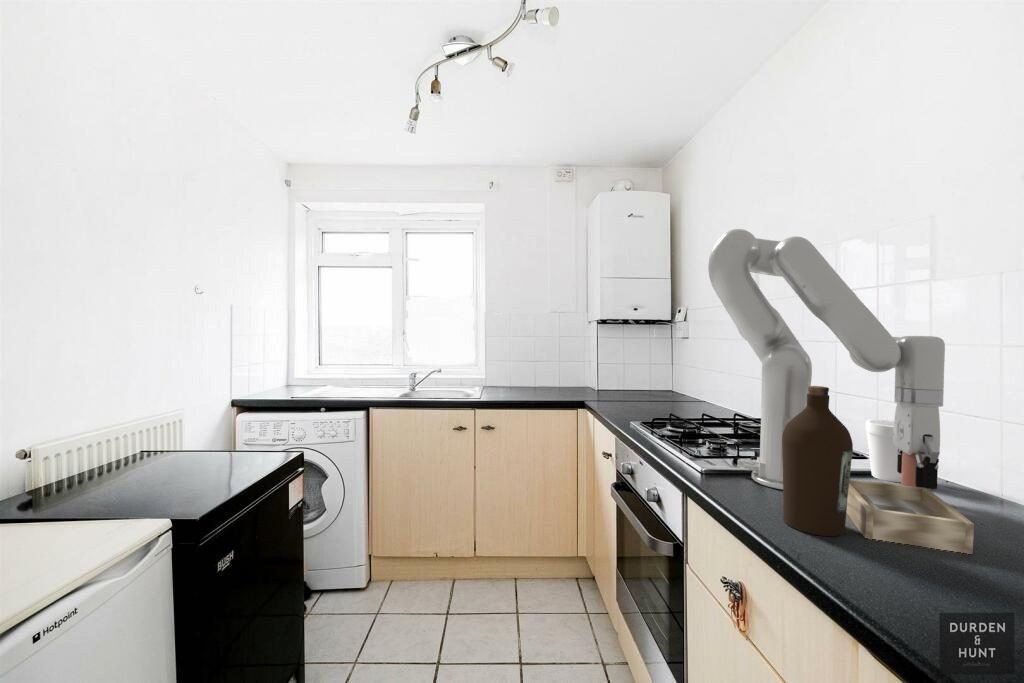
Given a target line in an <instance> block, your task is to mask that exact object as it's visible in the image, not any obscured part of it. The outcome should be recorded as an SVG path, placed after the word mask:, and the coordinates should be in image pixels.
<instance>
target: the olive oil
mask: <svg viewBox="0 0 1024 683" xmlns="http://www.w3.org/2000/svg"><path fill="white" fill-rule="evenodd" d="M829 391H830V388H829V387H827V386H822V385H821V386H820V385H811V386H808V394H807V406H806V408H805V409H804V410H803V411H801V412H800V413H799V414H798V415H797V416H795V417H794V418H793V419H792V420H790V421H789V422H788V423H787V425H786V427H785V429H784V432H783V435H782V457H783V490H782V519H783V522H784V523H785V524H786V525H788V526H789V527H791V528H793V529H795V530H798V531H800V532H804V533H807V534H810V535H815V536H820V537H838V536H842V535H843V534H844V533H845V532H846V521H847V520H846V519H847V513H846V511H847V499H848V489H849V479H851V478H850V477H851V470H852V460H853V450H854V448H853V447H854V445H853V439H852V437H851V433H850V431H849V430H848V428H847V427H846V425H845V424H844V423H843V422H841V421H840V419H838V418H837V416H835V414H834V413H833V412H832V411H831V409H830V408H829V407H830V395H829Z"/></svg>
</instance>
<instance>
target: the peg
mask: <svg viewBox="0 0 1024 683" xmlns="http://www.w3.org/2000/svg"><path fill="white" fill-rule="evenodd" d="M924 458H925V457H922V459H923V460H924ZM916 467H918V463H917V459H916V455H915V453H913V454H912V455H908V454H907V453H905V452H903V451H902V472H901V482H900V485H906V486H914V487H916V485H915V477H916Z"/></svg>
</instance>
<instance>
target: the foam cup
mask: <svg viewBox="0 0 1024 683" xmlns="http://www.w3.org/2000/svg"><path fill="white" fill-rule="evenodd" d="M893 431H894V420H889V419H867V420H865V432H866V437H867V447H868V454H869V462H870V471H871V476H873V478H876V479H878V480H881V481H886V482H894V483H901V473H898V472H897V459H898V451H897V450H898V448H897V447H896V446H895V445H894V444H893Z"/></svg>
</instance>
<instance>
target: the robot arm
mask: <svg viewBox="0 0 1024 683" xmlns="http://www.w3.org/2000/svg"><path fill="white" fill-rule="evenodd" d="M707 264H708V265H707V266H708V276H709V281H710V284H711V286H712V289H713V290H714V291H715V293H716V295H717V298H719V300H720V302H721V303H722V306H723V307H724V309H725V311H726V312H727V313H728V315H729V317H730V318H731V320H732V321H733V323H734V325H735V326H736V328H737V330H738V333H739V335H740V336H741V338H743V339H744V340H745V341H747V343H748V344H749V346H750V347H751V349H752V350H753V353H754V354H755V355H756V356H757V358H758V359H759V361H760V363H761V404H760V405H761V406H760V407H761V408H760V414H761V415H760V416H761V417H760V440H759V443H760V444H759V456H757V457H756V459H752V460H746V459H737V468H740V469H743V470H745V471H752V472H751V480H753V481H755V482H756V483H758V484H759V485H763V486H764V487H769V488H773V489H776V490H777V489H778V490H782V491H783V457H782V435H783V432H784V429H785V427H786V425H787V423H788V422H789V421H790V420H792V419H793V418H794V417H795V416H797V415H798V414H799V413H800V412H801V411H803V410H804V409H805V408H806V406H807V394H808V386H812V376H813V364H812V360H811V358H810V356H809V354H808V352H807V351H806V350H805V349H804V347H803V346H802V344H801V342H799V341H798V339H797V337H796V335H795V334H794V333H793V332H792V330H791V329H790V327H789V325H788V324H787V323H786V321H785V319H784V318H783V317H782V315H781V314H780V312H779V311H778V310H777V309H776V308H775V307H773V306H772V304H771V303H770V302H769V300H768V299H767V298H766V296H765V295H764V294H763V292H762V291H761V289H760V287H759V285H758V283H757V282H756V281H755V279H754V278H753V276H752V275H751V273H754V274H760V275H764V276H765V275H766V276H772V277H780V278H781V277H782V278H783V279H784V281H785V282H786V283H787V284H788V285H789V286H790V287H791V289H792V290H793V291H794V293H795V294H796V295H797V296H798V297H799V299H800V300H801V301H802V302H803V304H804V306H806V308H807V309H808V310H809V311H810V312H811V313H812V315H814V317H816V318H818V319H819V320H820V321H821V322H822V323H823V324H825V325H826V327H828V329H830V331H831V332H832V333H833V334H834V335H835V337H836V338H837V339H838V340H839V341H840V342H841V343H842V345H843V346H844V348H845V349H846V350H847V351H848V353H849V358H850V360H851V361H852V362H853V363H854V364H855V365H856V366H858V367H859V368H862V369H863V370H866V371H869V372H871V373H884V372H887V371H890V370H892V369H894V370H895V371H894V372H895V373H894V403H895V404H896V407H895V412H894V420H893V421H894V431H893V444H894V445H895V446H896V447H897V448H898V450H897V451H898V459H897V472H898V473H901V472H902V451H903V452H905V453H907V454H908V455H912V454H913V453H915V455H916V459H917V463H918V467H916V477H915V485H916V487H923V488H927V489H928V490H937V489H938V473H939V472H938V471H939V462H940V459H939V456H940V453H941V451H940V450H941V421H940V409H939V408H940V407H941V408H942V407H944V394H945V392H944V389H945V388H944V386H945V385H944V384H945V360H946V358H945V357H946V354H945V352H946V345H945V344H946V343H945V341H944V340H943V338H941V337H939V336H935V335H933V336H931V335H906V336H905V335H904V336H901V337H900V336H893V335H892V334H891V333H890V332H889V331H888V330H887V329H886V328H885V326H884V325H883V324H882V323H881V321H880V320H879V319H878V318H877V317H876V315H874V313H873V312H872V311H871V310H870V309H869V308H868V307H867V306H866V305H865V304H864V303H863V302H862V300H861V299H860V298H859V297H858V296H857V294H856V293H855V292H854V290H853V289H851V288H850V287H849V285H848V284H847V283H846V282H845V281H844V280H843V278H842V277H841V276H840V275H839V274H838V272H836V270H835V269H834V268H833V267H832V266H831V264H830V263H829V262H828V261H827V260H826V258H825V257H824V256H823V255H822V254H821V253H820V251H819V250H818V249H817V248H816V246H814V244H813V243H812V242H811V241H809V240H808V239H806V238H805V237H802V236H791V237H787V238H785V239H783V240H781V241H780V240H770V239H765V238H764V239H763V238H758V237H757V238H756V236H755V235H754V234H753V233H751V232H750V231H748V230H746V229H742V228H733V229H731V230H728V231H726V232H725V233H723V234H722V235H721V236H720V237H719V238H718V240H717V241H716V242H715V243H714V246H713V247H712V250H711V251H710V254H709V259H708V263H707ZM922 457H925V458H924V460H923V459H922Z"/></svg>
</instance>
